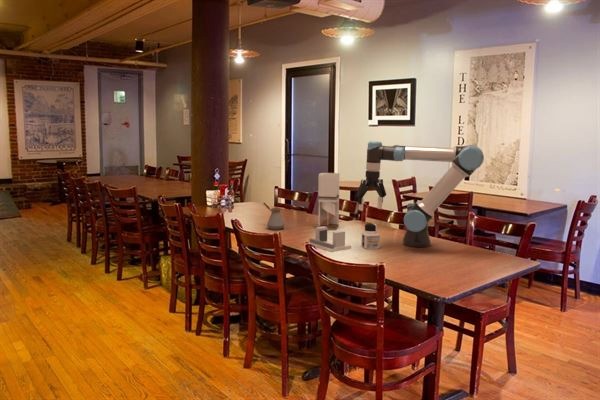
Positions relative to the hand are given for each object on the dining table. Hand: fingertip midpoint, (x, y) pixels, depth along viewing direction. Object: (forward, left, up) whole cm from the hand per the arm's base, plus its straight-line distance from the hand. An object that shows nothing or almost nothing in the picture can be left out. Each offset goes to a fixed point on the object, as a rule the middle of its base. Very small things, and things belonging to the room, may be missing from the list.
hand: (370, 209), depth 284 cm
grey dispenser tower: (+51, -14, -21) cm, 57 cm away
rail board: (+12, +18, -20) cm, 30 cm away
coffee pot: (+74, +14, -21) cm, 78 cm away
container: (-2, +1, -21) cm, 21 cm away
